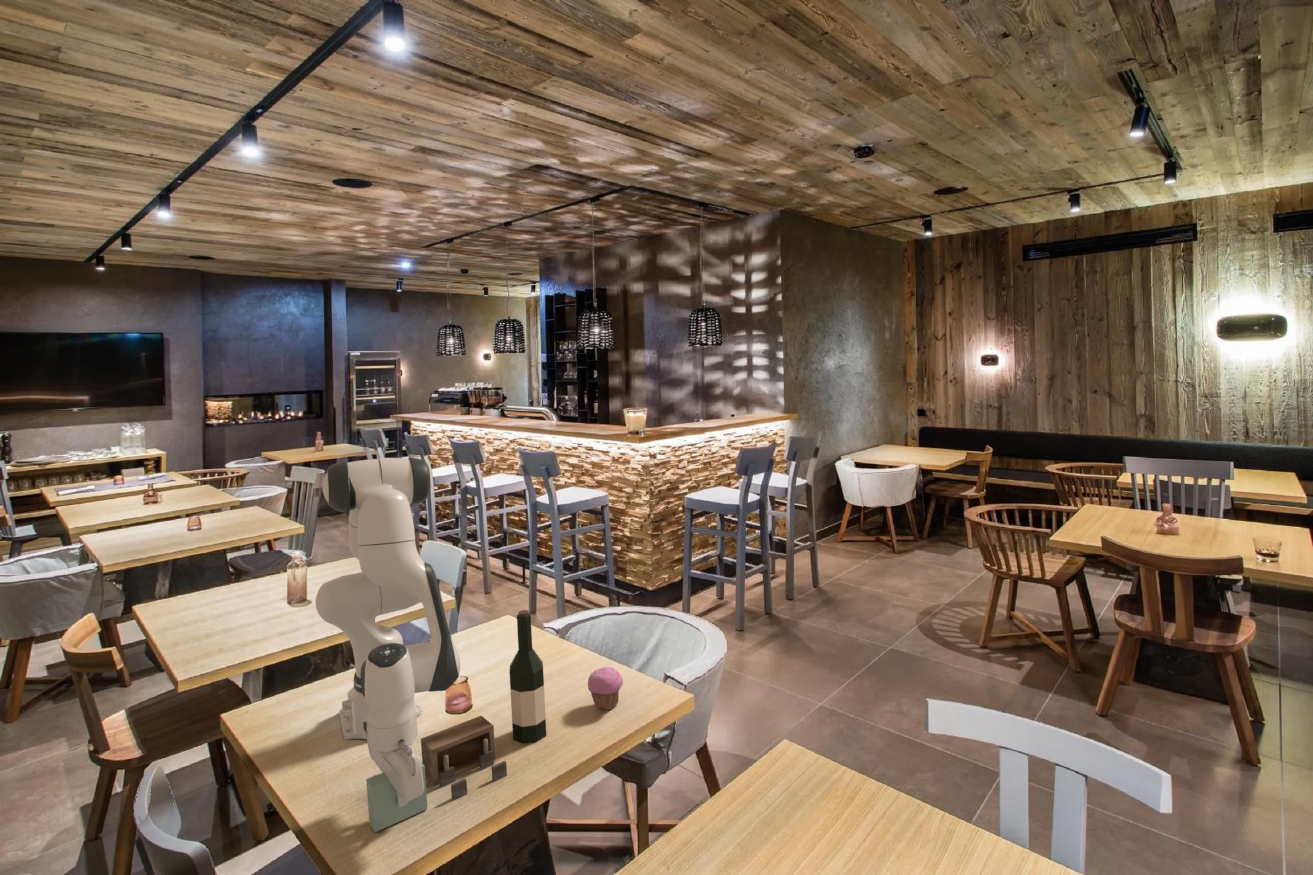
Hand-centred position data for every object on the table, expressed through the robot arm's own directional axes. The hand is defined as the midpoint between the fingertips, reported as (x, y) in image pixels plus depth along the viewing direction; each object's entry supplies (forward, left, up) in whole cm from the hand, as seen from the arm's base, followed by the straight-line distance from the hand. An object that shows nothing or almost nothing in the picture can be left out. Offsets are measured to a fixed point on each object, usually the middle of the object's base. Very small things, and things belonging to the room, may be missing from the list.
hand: (397, 798), depth 130 cm
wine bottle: (-9, +34, -4) cm, 35 cm away
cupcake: (-7, +55, -4) cm, 56 cm away
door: (0, 0, -4) cm, 4 cm away
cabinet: (-4, +16, -4) cm, 17 cm away
